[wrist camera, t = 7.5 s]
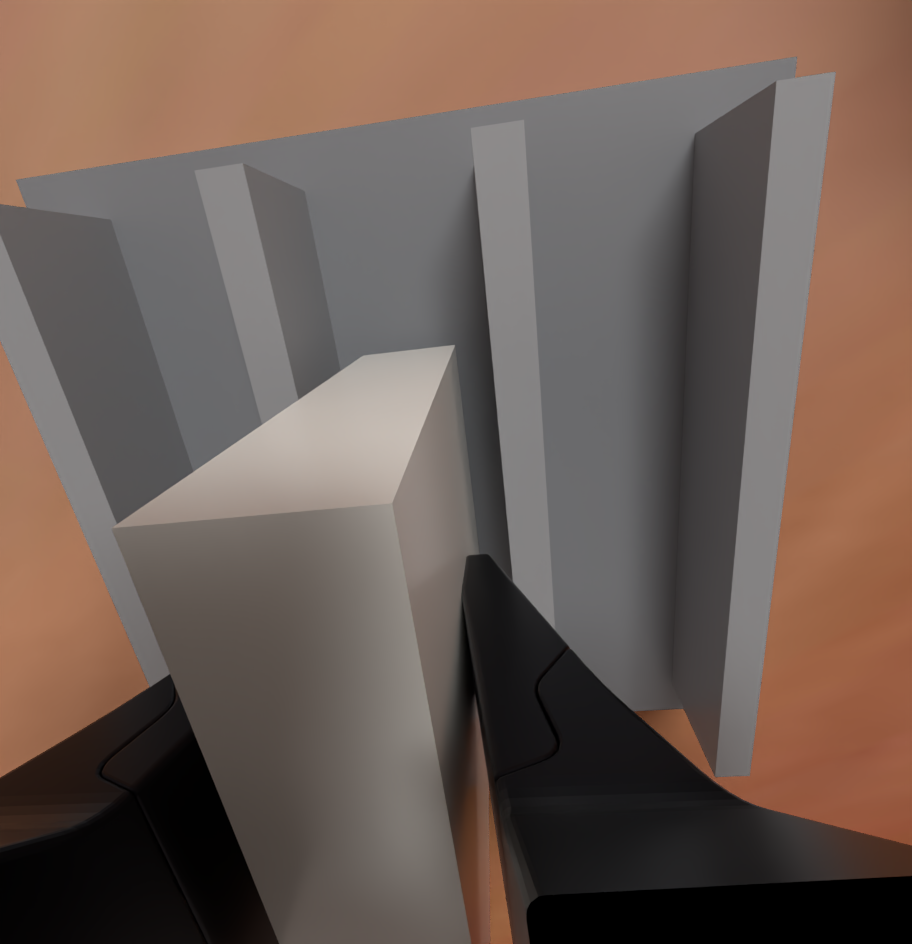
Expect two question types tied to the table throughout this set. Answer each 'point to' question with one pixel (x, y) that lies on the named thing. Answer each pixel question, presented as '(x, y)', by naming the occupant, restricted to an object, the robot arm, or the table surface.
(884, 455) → the table surface
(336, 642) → the white slab
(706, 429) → the dish rack
